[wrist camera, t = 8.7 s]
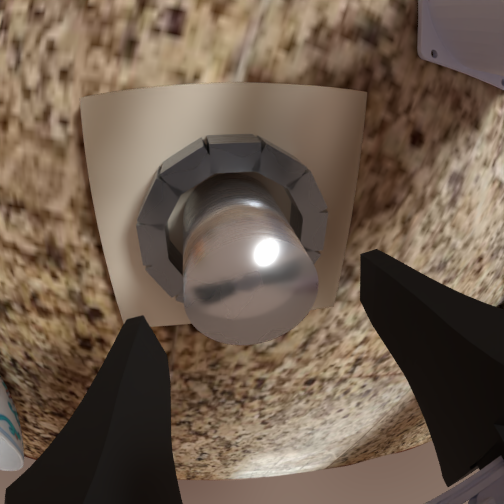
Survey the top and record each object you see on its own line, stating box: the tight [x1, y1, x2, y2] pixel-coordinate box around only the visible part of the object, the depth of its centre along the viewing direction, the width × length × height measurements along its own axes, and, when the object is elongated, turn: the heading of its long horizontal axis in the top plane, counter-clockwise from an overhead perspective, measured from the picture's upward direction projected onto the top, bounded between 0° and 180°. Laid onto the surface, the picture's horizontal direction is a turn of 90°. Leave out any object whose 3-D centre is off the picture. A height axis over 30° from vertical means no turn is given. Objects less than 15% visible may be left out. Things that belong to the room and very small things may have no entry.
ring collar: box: [136, 134, 328, 303], centre depth 15 cm, size 8×8×2 cm
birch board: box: [80, 82, 367, 327], centre depth 16 cm, size 13×13×1 cm
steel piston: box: [183, 173, 319, 345], centre depth 13 cm, size 4×4×6 cm
